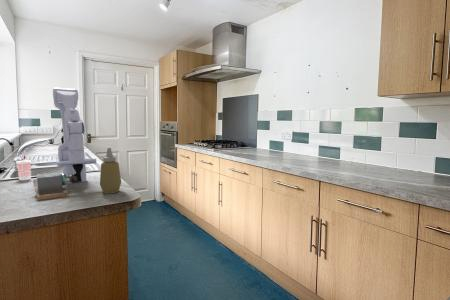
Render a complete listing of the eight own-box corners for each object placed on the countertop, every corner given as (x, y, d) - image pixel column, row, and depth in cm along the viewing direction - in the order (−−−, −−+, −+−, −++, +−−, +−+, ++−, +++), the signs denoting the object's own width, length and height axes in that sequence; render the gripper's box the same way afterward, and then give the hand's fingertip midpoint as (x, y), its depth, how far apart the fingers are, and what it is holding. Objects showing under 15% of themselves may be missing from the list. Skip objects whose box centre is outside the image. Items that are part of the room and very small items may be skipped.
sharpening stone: (61, 185, 121) (60, 169, 120) (68, 196, 104) (66, 178, 103) (35, 188, 115) (34, 172, 115) (37, 200, 98) (36, 181, 97)
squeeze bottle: (100, 195, 105) (98, 149, 103) (99, 190, 112) (97, 147, 110) (122, 193, 108) (121, 148, 106) (120, 188, 115) (118, 146, 113)
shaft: (76, 182, 117) (75, 171, 116) (77, 185, 113) (77, 173, 112) (33, 188, 108) (32, 175, 107) (34, 190, 104) (33, 178, 103)
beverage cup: (34, 177, 137) (32, 150, 136) (30, 179, 131) (28, 151, 130) (19, 178, 135) (17, 150, 134) (15, 180, 129) (12, 151, 128)
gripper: (57, 152, 106) (59, 186, 108) (97, 149, 115) (99, 181, 116) (55, 150, 112) (57, 182, 113) (93, 148, 120) (95, 178, 122)
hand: (78, 181), depth 115 cm, fingers closed, pressing on shaft
